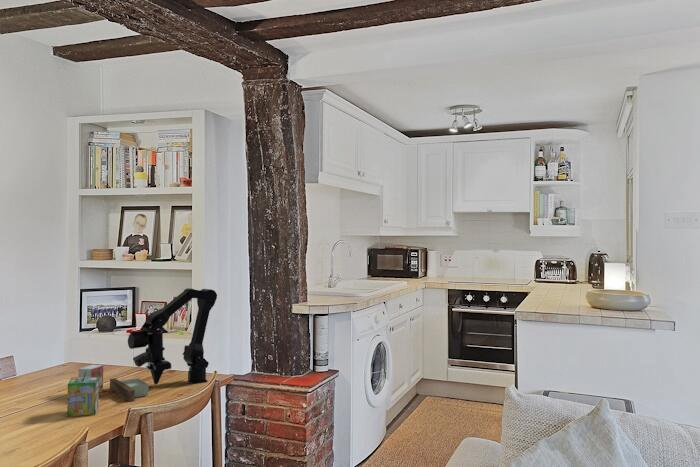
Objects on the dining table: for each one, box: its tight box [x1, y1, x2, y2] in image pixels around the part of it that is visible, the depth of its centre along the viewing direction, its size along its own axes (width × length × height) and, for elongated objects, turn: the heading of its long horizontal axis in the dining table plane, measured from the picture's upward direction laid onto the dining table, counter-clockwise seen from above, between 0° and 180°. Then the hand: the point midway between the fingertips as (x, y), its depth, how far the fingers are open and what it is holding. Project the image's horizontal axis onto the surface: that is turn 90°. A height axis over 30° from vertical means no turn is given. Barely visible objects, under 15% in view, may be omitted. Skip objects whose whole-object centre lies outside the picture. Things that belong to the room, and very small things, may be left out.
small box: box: [78, 364, 104, 394], centre depth 230 cm, size 8×6×10 cm
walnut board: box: [109, 377, 136, 403], centre depth 229 cm, size 2×24×4 cm, turn 38°
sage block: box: [119, 378, 149, 398], centre depth 231 cm, size 7×12×4 cm, turn 38°
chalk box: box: [66, 369, 100, 418], centre depth 205 cm, size 9×9×15 cm
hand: (156, 383), depth 237 cm, fingers closed
